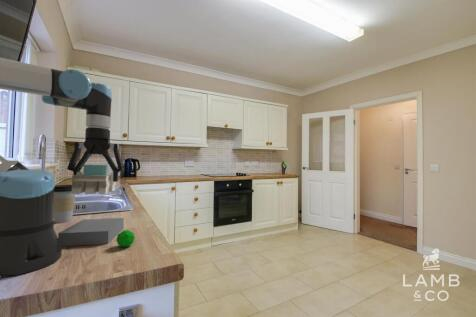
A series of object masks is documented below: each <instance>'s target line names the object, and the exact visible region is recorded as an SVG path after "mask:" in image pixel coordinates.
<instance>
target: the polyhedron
mask: <svg viewBox="0 0 476 317" xmlns="http://www.w3.org/2000/svg"><path fill="white" fill-rule="evenodd" d="M135 238H136V237H135V233H134V232H133V231H131V230H129V229H123V230H121V231H120V232H119V233H118V234H117V235H116V243H117V245H119V246H121V247H122V248H127V247H130V246H131V245H132V244H133V243H134V242H135Z"/></svg>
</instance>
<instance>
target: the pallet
mask: <svg viewBox="0 0 476 317" xmlns="http://www.w3.org/2000/svg"><path fill="white" fill-rule="evenodd" d="M110 177H111V173H108V175H83V173H82V174H80V175H74V174H73V175H72V176H71V178H72V179H71V185H72V194H75V195H80V194H82V193H85V195H93V194H96V193H98V194H99V195H106V194H109V193H111V192H112V191H110ZM115 190H116V191H117V182H115ZM115 190H114V191H115Z"/></svg>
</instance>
